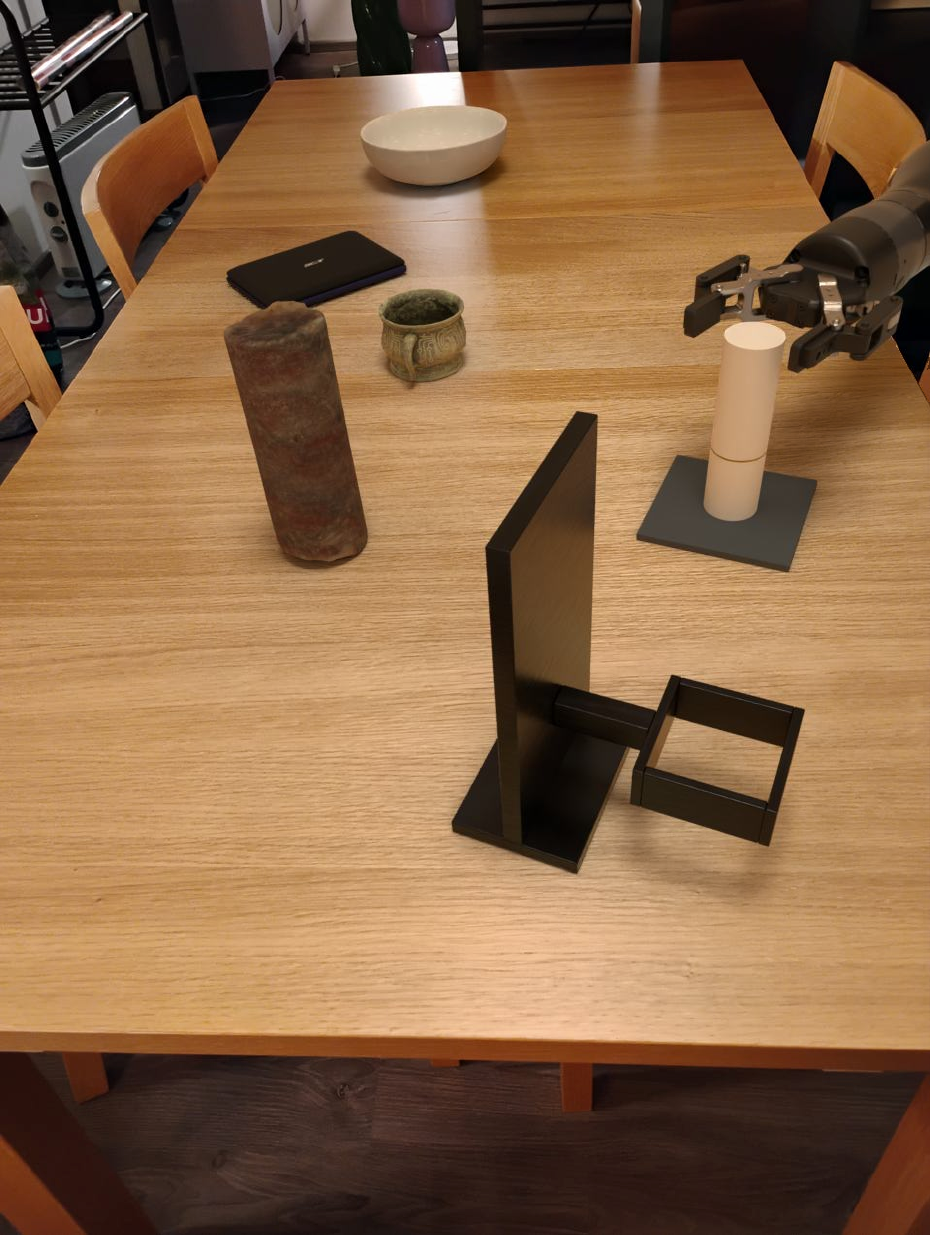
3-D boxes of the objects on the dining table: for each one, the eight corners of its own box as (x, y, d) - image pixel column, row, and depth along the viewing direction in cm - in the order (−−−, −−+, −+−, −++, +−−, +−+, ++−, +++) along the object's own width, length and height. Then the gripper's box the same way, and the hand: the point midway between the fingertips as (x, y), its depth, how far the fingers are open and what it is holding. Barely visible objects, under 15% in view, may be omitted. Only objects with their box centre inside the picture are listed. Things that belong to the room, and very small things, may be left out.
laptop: (419, 282, 118) (417, 265, 117) (258, 324, 113) (254, 308, 111) (369, 238, 129) (367, 223, 128) (220, 275, 123) (216, 259, 122)
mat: (816, 485, 84) (817, 479, 83) (788, 572, 76) (789, 566, 75) (676, 460, 88) (677, 454, 87) (636, 539, 80) (636, 533, 79)
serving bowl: (538, 166, 145) (537, 115, 140) (441, 213, 134) (437, 160, 129) (433, 143, 156) (429, 95, 151) (336, 184, 145) (328, 134, 140)
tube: (753, 524, 79) (781, 352, 69) (699, 516, 81) (719, 346, 70) (760, 494, 82) (789, 325, 72) (708, 486, 83) (729, 319, 73)
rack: (790, 770, 62) (868, 460, 46) (747, 932, 54) (823, 624, 39) (525, 695, 68) (515, 399, 53) (452, 831, 60) (415, 530, 45)
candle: (292, 582, 79) (236, 351, 65) (265, 533, 84) (208, 308, 70) (381, 552, 81) (345, 322, 67) (350, 505, 86) (311, 282, 72)
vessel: (454, 395, 98) (449, 336, 94) (369, 390, 100) (360, 332, 96) (479, 338, 107) (476, 282, 103) (401, 334, 109) (394, 279, 104)
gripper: (781, 196, 79) (659, 265, 71) (956, 237, 72) (842, 319, 63) (767, 287, 84) (652, 360, 76) (930, 334, 77) (822, 421, 68)
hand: (739, 341), depth 70 cm, fingers open, 8 cm apart
